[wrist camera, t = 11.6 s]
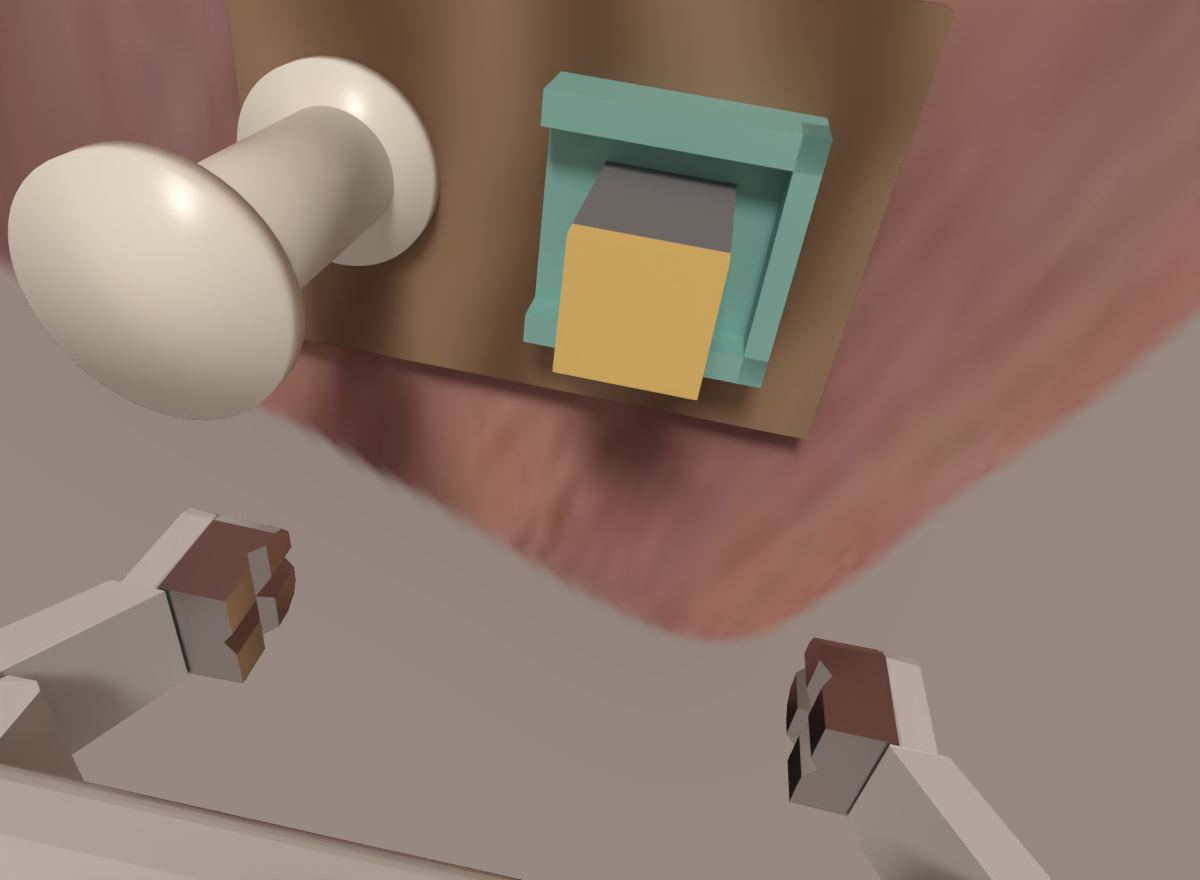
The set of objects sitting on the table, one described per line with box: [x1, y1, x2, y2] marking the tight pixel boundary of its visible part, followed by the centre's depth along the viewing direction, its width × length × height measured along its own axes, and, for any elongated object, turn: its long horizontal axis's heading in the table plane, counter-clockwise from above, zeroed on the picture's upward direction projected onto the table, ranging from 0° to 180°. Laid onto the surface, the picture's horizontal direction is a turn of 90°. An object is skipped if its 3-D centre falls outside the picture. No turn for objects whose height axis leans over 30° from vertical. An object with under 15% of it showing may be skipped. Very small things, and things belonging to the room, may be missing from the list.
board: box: [226, 0, 954, 440], centre depth 27 cm, size 21×14×1 cm
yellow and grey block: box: [552, 161, 737, 400], centre depth 23 cm, size 4×4×6 cm
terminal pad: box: [523, 71, 833, 388], centre depth 25 cm, size 8×8×2 cm
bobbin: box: [8, 55, 440, 420], centre depth 23 cm, size 7×7×11 cm
